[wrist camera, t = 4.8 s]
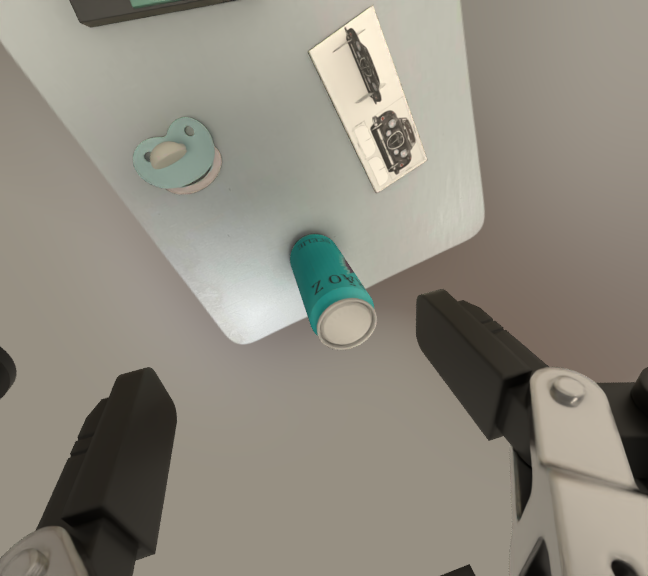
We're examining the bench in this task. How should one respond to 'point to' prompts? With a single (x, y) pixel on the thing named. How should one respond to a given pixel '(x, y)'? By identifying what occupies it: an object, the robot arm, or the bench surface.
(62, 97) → the bench surface
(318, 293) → the beverage can
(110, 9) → the scale
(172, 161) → the pacifier
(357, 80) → the car cutout
